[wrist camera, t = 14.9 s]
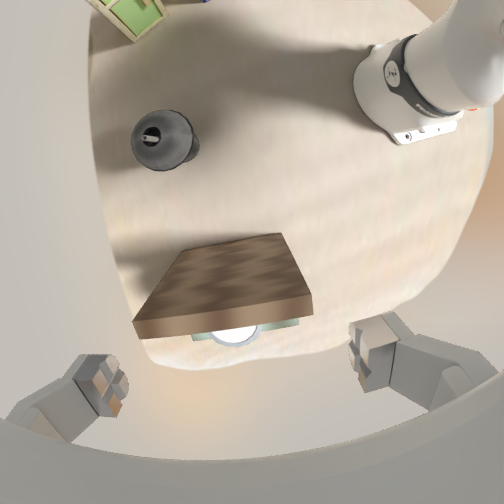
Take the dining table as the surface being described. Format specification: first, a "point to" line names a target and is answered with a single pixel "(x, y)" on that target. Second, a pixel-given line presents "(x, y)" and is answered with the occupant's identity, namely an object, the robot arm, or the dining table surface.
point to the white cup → (236, 336)
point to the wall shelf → (227, 291)
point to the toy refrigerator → (132, 15)
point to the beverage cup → (164, 140)
